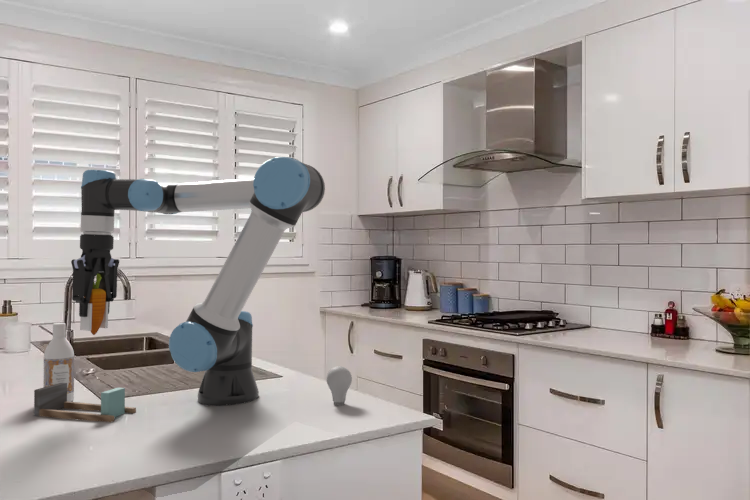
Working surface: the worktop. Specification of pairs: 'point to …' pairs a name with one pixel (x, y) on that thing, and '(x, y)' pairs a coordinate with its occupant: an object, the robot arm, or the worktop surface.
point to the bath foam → (59, 361)
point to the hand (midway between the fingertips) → (94, 328)
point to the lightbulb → (339, 384)
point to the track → (66, 405)
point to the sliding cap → (113, 402)
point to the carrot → (97, 305)
